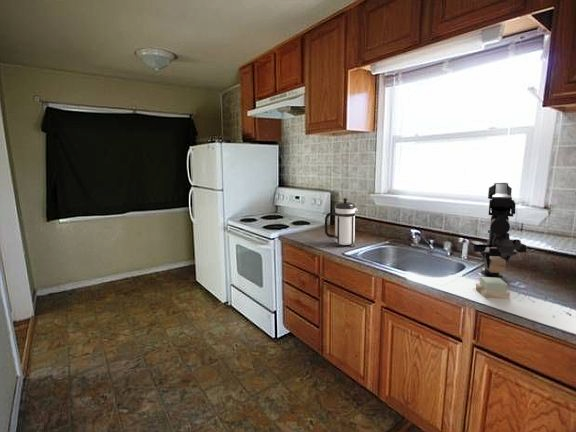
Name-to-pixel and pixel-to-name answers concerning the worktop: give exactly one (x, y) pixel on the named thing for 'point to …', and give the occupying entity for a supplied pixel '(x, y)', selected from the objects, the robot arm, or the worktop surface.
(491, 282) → the sage top block
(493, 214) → the robot arm
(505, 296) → the birch base block
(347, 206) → the coffee press
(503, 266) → the walnut cube
